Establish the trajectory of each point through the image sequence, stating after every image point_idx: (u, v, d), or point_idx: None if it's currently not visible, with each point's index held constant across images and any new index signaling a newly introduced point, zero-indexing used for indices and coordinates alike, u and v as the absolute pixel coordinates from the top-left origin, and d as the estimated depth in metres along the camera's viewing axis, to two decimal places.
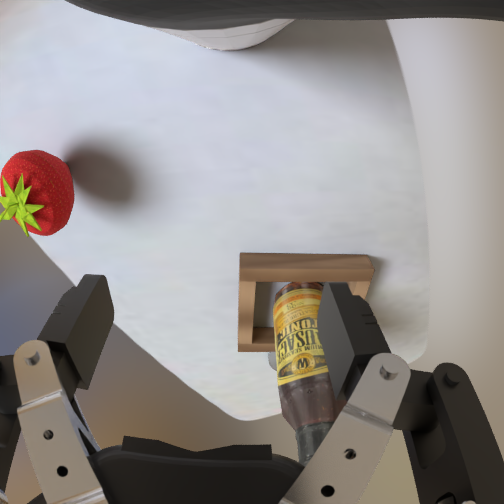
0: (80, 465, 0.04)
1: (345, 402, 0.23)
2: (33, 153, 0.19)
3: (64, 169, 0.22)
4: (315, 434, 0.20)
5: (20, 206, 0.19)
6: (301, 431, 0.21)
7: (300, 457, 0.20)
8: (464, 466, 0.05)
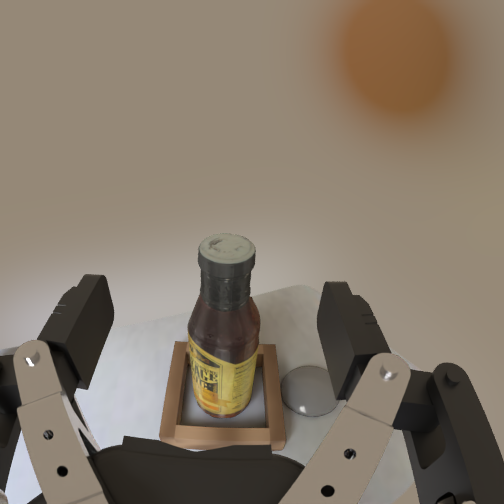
0: (80, 465, 0.04)
1: None
2: None
3: None
4: (202, 288, 0.23)
5: None
6: (212, 303, 0.23)
7: (220, 282, 0.22)
8: (464, 466, 0.05)
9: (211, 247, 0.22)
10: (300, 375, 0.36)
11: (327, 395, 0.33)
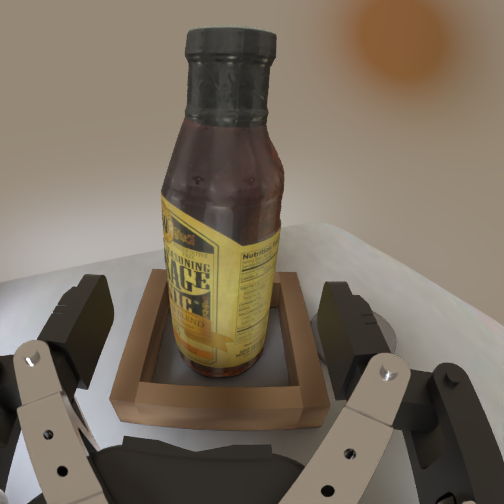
0: (80, 465, 0.04)
1: None
2: None
3: None
4: (189, 96, 0.13)
5: None
6: (203, 113, 0.12)
7: (219, 66, 0.11)
8: (464, 466, 0.05)
9: None
10: None
11: None
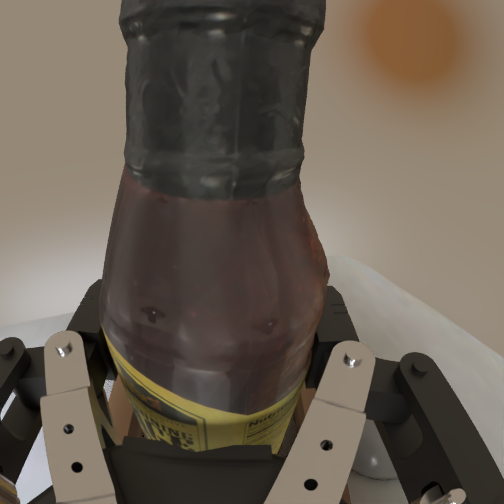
0: (96, 464, 0.04)
1: None
2: None
3: None
4: (127, 120, 0.05)
5: None
6: (153, 165, 0.05)
7: (187, 42, 0.04)
8: (445, 455, 0.05)
9: None
10: None
11: None
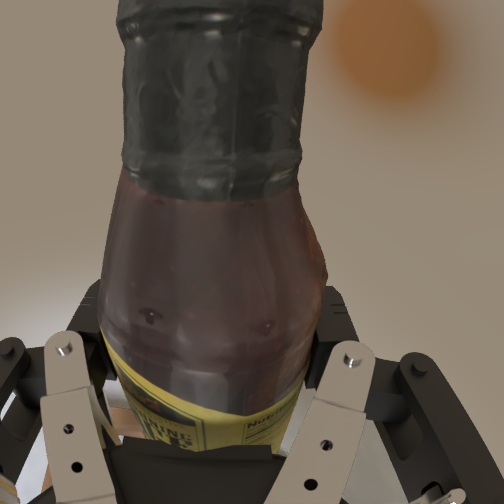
0: (96, 464, 0.04)
1: None
2: None
3: None
4: (125, 121, 0.05)
5: None
6: (150, 166, 0.05)
7: (184, 44, 0.04)
8: (445, 455, 0.05)
9: None
10: None
11: None
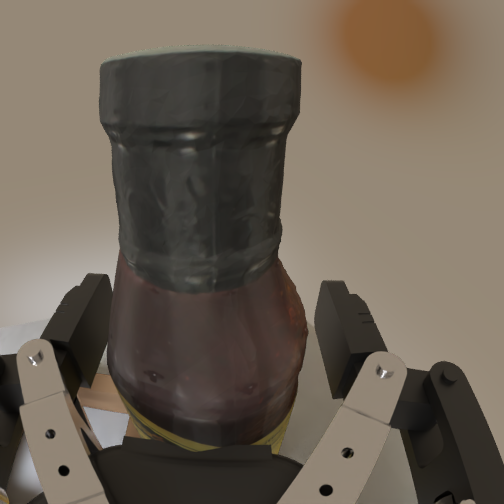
0: (82, 465, 0.04)
1: None
2: None
3: None
4: (119, 212, 0.06)
5: None
6: (144, 263, 0.06)
7: (162, 160, 0.05)
8: (462, 465, 0.05)
9: None
10: None
11: None
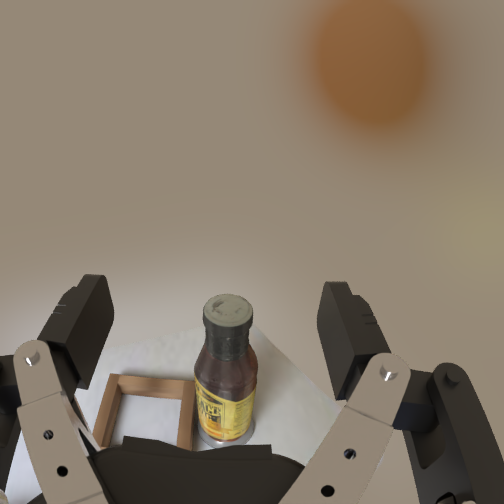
0: (79, 465, 0.04)
1: None
2: None
3: None
4: (207, 342, 0.26)
5: None
6: (215, 355, 0.26)
7: (222, 340, 0.25)
8: (464, 466, 0.05)
9: (214, 309, 0.25)
10: None
11: None
